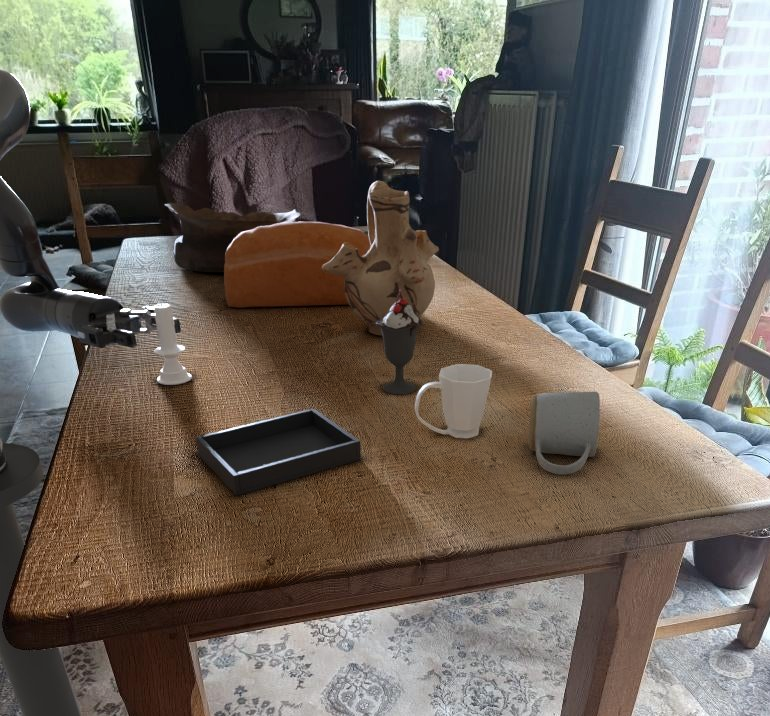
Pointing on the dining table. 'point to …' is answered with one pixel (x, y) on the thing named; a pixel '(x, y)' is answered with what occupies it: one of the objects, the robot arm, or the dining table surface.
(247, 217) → the bowl
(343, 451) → the tray
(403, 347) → the sundae
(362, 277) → the ceramic vessel
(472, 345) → the dining table surface
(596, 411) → the ceramic mug
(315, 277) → the bread
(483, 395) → the cup
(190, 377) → the candle
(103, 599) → the dining table surface
